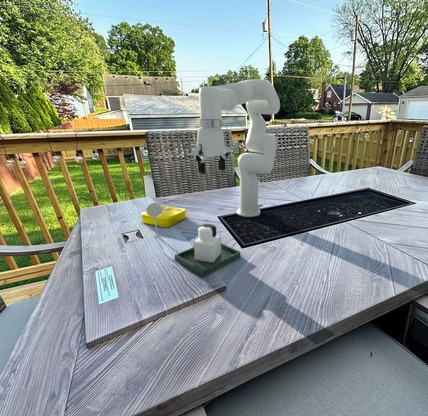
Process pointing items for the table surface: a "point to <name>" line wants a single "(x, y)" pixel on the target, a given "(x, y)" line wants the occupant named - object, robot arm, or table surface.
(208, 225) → the medicine bottle
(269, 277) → the table surface
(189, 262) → the tray
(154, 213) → the lollipop
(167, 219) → the yellow flat block
